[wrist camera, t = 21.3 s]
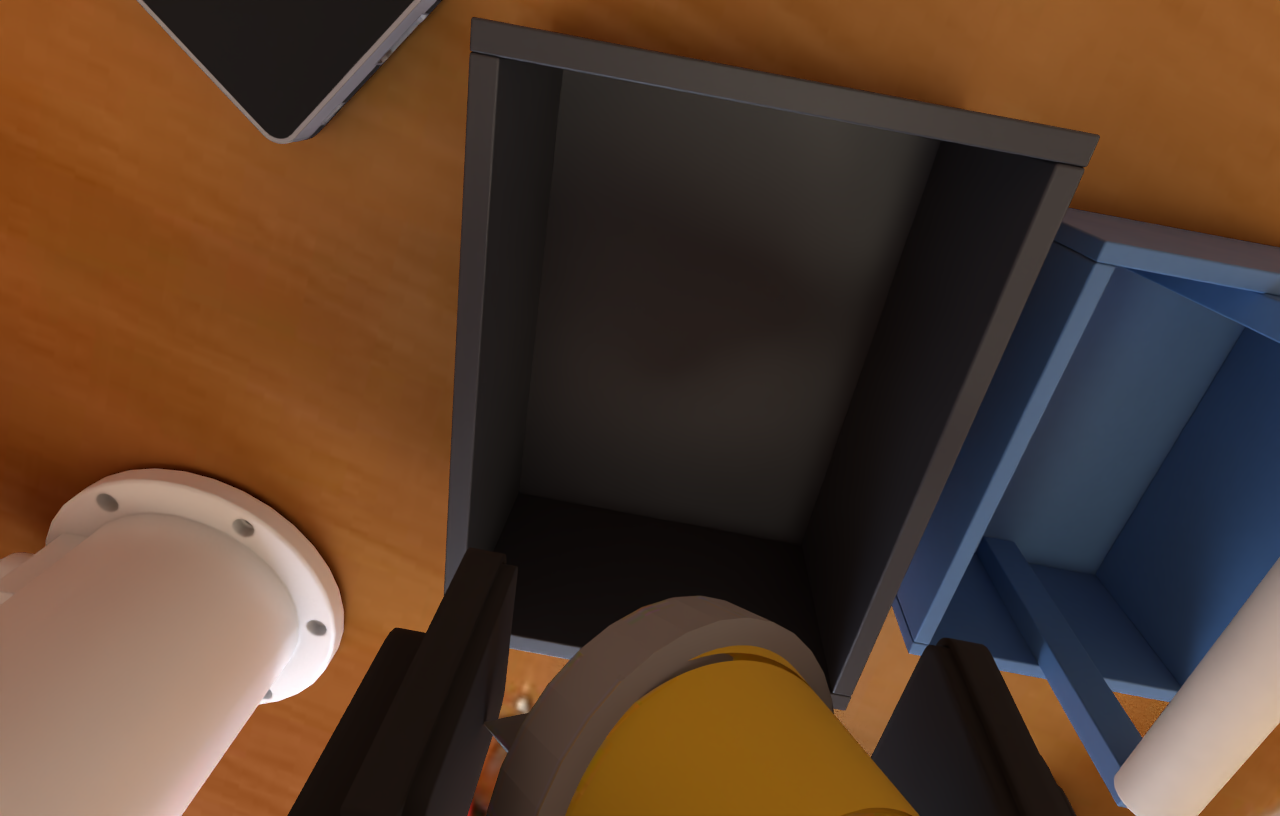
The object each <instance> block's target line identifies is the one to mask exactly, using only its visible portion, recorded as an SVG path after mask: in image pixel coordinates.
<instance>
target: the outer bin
mask: <svg viewBox="0 0 1280 816" xmlns="http://www.w3.org/2000/svg"><path fill="white" fill-rule="evenodd" d="M470 50H471V51H472V52H471V53H470V60H469V81H468V102H467V123H466V144H465V165H464V186H463V207H462V228H461V249H460V269H459V290H458V311H457V332H456V353H455V374H454V395H453V416H452V437H451V458H450V479H449V499H448V520H447V541H446V562H445V583H444V595H445V593H446V591H447V589H448V587H449V585H450V583H451V581H452V579H453V577H454V575H455V573H456V571H457V569H458V567H459V565H460V563H461V560H462V558H463V556H464V554H465V553H466V551H467V549H468V548H470V547H471V548H476V549H481V550H487V551H492V552H497V553H503V554H506V564H507V565H513V566H517V567H518V574H517V583H516V592H515V601H514V610H513V620H512V629H511V638H510V647H509V648H511V649H516V650H521V651H527V652H532V653H538V654H543V655H548V656H554V657H559V658H564V659H571V658H572V657H573V656H574V655H575V654H576V653H577V652H578V651H579V650H580V649H581V648H582V647H584V646H585V645H586V644H587V643H589V642H590V641H591V640H592V639H593V638H595V637H596V636H597V635H598V634H600V633H601V632H602V631H603V630H605V629H606V628H607V627H608V626H609V625H611V624H613V623H615V622H616V621H618V620H620V619H622V618H624V617H625V616H627V615H629V614H631V613H632V612H634V611H636V610H638V609H640V608H641V607H644V606H648V605H651V604H654V603H657V602H660V601H663V600H666V599H669V598H674V597H687V596H705V597H710V598H715V599H720V600H725V601H727V602H729V603H732V604H734V605H736V606H738V607H741V608H743V609H745V610H747V611H749V612H752V613H754V614H756V615H758V616H761V617H763V618H765V619H767V620H769V621H772V622H774V623H776V624H778V625H779V626H781V627H783V628H785V629H787V630H789V631H791V632H792V633H794V634H795V635H796V636H797V637H798V638H799V639H800V640H801V641H802V642H803V643H804V644H805V645H806V646H807V647H808V648H809V649H810V650H811V651H812V653H813V655H814V656H815V658H816V660H817V662H818V663H819V665H820V667H821V669H822V671H823V672H824V675H825V678H826V681H827V685H828V688H829V691H830V694H831V698H832V703H833V709H839V710H846V708H847V706H848V703H849V701H850V699H851V695H852V694H853V691H854V689H855V687H856V685H857V682H858V680H859V678H860V676H861V673H862V671H863V669H864V667H865V664H866V662H867V660H868V657H869V655H870V653H871V651H872V648H873V646H874V644H875V642H876V639H877V637H878V635H879V633H880V630H881V628H882V626H883V624H884V621H885V619H886V617H887V615H888V612H889V610H890V608H891V606H892V603H893V601H894V599H895V597H896V594H897V592H898V590H899V588H900V585H901V583H902V581H903V579H904V576H905V574H906V572H907V570H908V567H909V565H910V563H911V561H912V558H913V556H914V554H915V552H916V549H917V547H918V545H919V543H920V540H921V538H922V536H923V534H924V531H925V529H926V527H927V525H928V522H929V520H930V518H931V516H932V513H933V511H934V509H935V507H936V504H937V502H938V500H939V498H940V495H941V493H942V491H943V489H944V486H945V484H946V482H947V480H948V477H949V475H950V473H951V471H952V468H953V466H954V464H955V461H956V459H957V457H958V455H959V452H960V450H961V448H962V446H963V443H964V441H965V439H966V437H967V434H968V432H969V430H970V428H971V425H972V423H973V421H974V419H975V416H976V414H977V412H978V410H979V407H980V405H981V403H982V401H983V398H984V396H985V394H986V392H987V389H988V387H989V385H990V383H991V380H992V378H993V376H994V374H995V371H996V369H997V367H998V365H999V362H1000V360H1001V358H1002V356H1003V353H1004V351H1005V349H1006V347H1007V344H1008V342H1009V340H1010V338H1011V335H1012V333H1013V331H1014V329H1015V326H1016V324H1017V322H1018V320H1019V317H1020V315H1021V313H1022V311H1023V308H1024V306H1025V304H1026V302H1027V299H1028V297H1029V295H1030V293H1031V290H1032V288H1033V286H1034V284H1035V281H1036V279H1037V277H1038V275H1039V272H1040V270H1041V268H1042V266H1043V263H1044V261H1045V259H1046V256H1047V254H1048V252H1049V250H1050V247H1051V245H1052V243H1053V241H1054V238H1055V236H1056V234H1057V232H1058V229H1059V227H1060V225H1061V223H1062V220H1063V218H1064V216H1065V214H1066V211H1067V209H1068V207H1069V205H1070V202H1071V200H1072V198H1073V196H1074V193H1075V191H1076V189H1077V187H1078V184H1079V182H1080V180H1081V178H1082V175H1083V173H1084V168H1083V167H1086V166H1087V165H1088V163H1089V161H1090V159H1091V156H1092V154H1093V152H1094V150H1095V147H1096V145H1097V143H1098V141H1099V138H1100V136H1099V135H1097V134H1092V133H1087V132H1081V131H1076V130H1071V129H1065V128H1060V127H1055V126H1050V125H1044V124H1039V123H1034V122H1028V121H1023V120H1018V119H1012V118H1007V117H1002V116H997V115H991V114H986V113H981V112H975V111H970V110H965V109H959V108H954V107H949V106H944V105H938V104H933V103H928V102H922V101H917V100H912V99H906V98H901V97H896V96H891V95H885V94H880V93H875V92H869V91H864V90H859V89H853V88H848V87H843V86H838V85H832V84H827V83H822V82H816V81H811V80H806V79H800V78H795V77H790V76H785V75H779V74H774V73H769V72H763V71H758V70H753V69H747V68H742V67H737V66H732V65H726V64H721V63H716V62H710V61H705V60H700V59H694V58H689V57H684V56H678V55H673V54H668V53H663V52H657V51H652V50H647V49H641V48H636V47H631V46H625V45H620V44H615V43H610V42H604V41H599V40H594V39H588V38H583V37H578V36H572V35H567V34H562V33H557V32H551V31H546V30H541V29H535V28H530V27H525V26H519V25H514V24H509V23H504V22H498V21H493V20H488V19H482V18H477V17H472V19H471V38H470Z"/></svg>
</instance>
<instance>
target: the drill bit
mask: <svg viewBox="0 0 1280 816" xmlns="http://www.w3.org/2000/svg"><path fill="white" fill-rule="evenodd" d="M484 725H485V726H486V727H487V729H488V730H489V731H490V732H491V733H492V735H493V736H494V737H495V738H496V740H497V741H498V742H499V743H500V745H501V746H502V747H503V748H504V749H505V751H506V752H507V755H506V757H505V760H504V762H503V764H502V766H501V768H500V772H499V775H498V778H497V781H496V784H495V788H494V791H493V794H492V797H491V800H490V804H489V807H488V810H487V815H486V816H919V814H918V813H917V812H916V811H915V810H914V808H913V807H912V806H911V805H910V804H909V803H908V801H907V800H906V799H905V798H904V797H903V795H902V794H901V793H900V792H899V791H898V790H897V788H896V787H895V786H894V785H893V784H892V782H891V781H890V780H889V779H888V778H887V777H886V775H885V774H884V773H883V772H882V771H881V769H880V768H879V767H878V766H877V765H876V764H875V762H874V761H873V760H872V759H871V758H870V756H869V755H868V754H867V753H866V752H865V751H864V749H863V748H862V747H861V746H860V745H859V744H858V742H857V741H856V740H855V739H854V738H853V736H852V735H851V734H850V733H849V732H848V731H847V729H846V728H845V727H844V726H843V725H842V723H841V722H840V721H839V720H838V719H837V718H836V716H835V715H834V711H833V703H832V698H831V694H830V691H829V688H828V685H827V681H826V678H825V675H824V672H823V671H822V669H821V667H820V665H819V663H818V662H817V660H816V658H815V656H814V655H813V653H812V651H811V650H810V649H809V648H808V647H807V646H806V645H805V644H804V643H803V642H802V641H801V640H800V639H799V638H798V637H797V636H796V635H795V634H794V633H792V632H791V631H789V630H787V629H785V628H783V627H781V626H779V625H778V624H776V623H774V622H772V621H769V620H767V619H765V618H763V617H761V616H758V615H756V614H754V613H752V612H749V611H747V610H745V609H743V608H741V607H738V606H736V605H734V604H732V603H729V602H727V601H725V600H720V599H715V598H710V597H705V596H687V597H674V598H669V599H666V600H663V601H660V602H657V603H654V604H651V605H648V606H644V607H641V608H640V609H638V610H636V611H634V612H632V613H631V614H629V615H627V616H625V617H624V618H622V619H620V620H618V621H616V622H615V623H613V624H611V625H609V626H608V627H607V628H606V629H605V630H603V631H602V632H601V633H600V634H598V635H597V636H596V637H595V638H593V639H592V640H591V641H590V642H589V643H587V644H586V645H585V646H584V647H582V648H581V649H580V650H579V651H578V652H577V653H576V654H575V655H574V656H573V657H572V658H571V659H570V661H569V662H568V663H567V664H566V665H565V666H564V667H563V668H562V669H561V671H560V672H559V673H558V674H557V675H556V676H555V677H554V678H553V679H552V681H551V682H550V683H549V684H548V685H547V687H546V688H545V690H544V691H543V693H542V694H541V696H540V697H539V699H538V700H537V702H536V703H535V705H534V706H533V708H532V709H531V711H530V712H529V713H526V714H521V715H516V716H511V717H506V718H501V719H496V720H491V721H486V722H485V723H484Z"/></svg>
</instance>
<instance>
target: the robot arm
mask: <svg viewBox="0 0 1280 816" xmlns="http://www.w3.org/2000/svg"><path fill="white" fill-rule="evenodd" d="M517 574H518V567H517V566H513V565H507V564H506V554H503V553H497V552H492V551H487V550H481V549H476V548H471V547H470V548H468V549H467V551H466V553H465V554H464V556H463V558H462V560H461V563H460V565H459V567H458V569H457V571H456V573H455V575H454V577H453V579H452V581H451V583H450V585H449V587H448V589H447V591H446V593H445V595H444V597H443V599H442V601H441V603H440V605H439V608H438V610H437V612H436V614H435V616H434V618H433V620H432V622H431V624H430V626H429V628H428V630H427V632H426V633H423V632H418V631H413V630H407V629H402V628H394V629H393V630H392V631H391V632H390V633H389V635H388V636H387V638H386V639H385V641H384V643H383V644H382V646H381V648H380V650H379V652H378V653H377V655H376V657H375V659H374V661H373V662H372V664H371V666H370V668H369V670H368V671H367V673H366V675H365V677H364V679H363V680H362V682H361V684H360V686H359V688H358V689H357V691H356V693H355V695H354V697H353V698H352V700H351V702H350V704H349V706H348V707H347V709H346V711H345V713H344V715H343V717H342V718H341V720H340V722H339V724H338V726H337V727H336V729H335V731H334V733H333V735H332V736H331V738H330V740H329V742H328V744H327V745H326V747H325V749H324V751H323V753H322V754H321V756H320V758H319V760H318V762H317V763H316V765H315V767H314V769H313V771H312V772H311V774H310V776H309V778H308V780H307V781H306V783H305V785H304V787H303V789H302V791H301V792H300V794H299V796H298V798H297V800H296V801H295V803H294V805H293V807H292V809H291V810H290V812H289V814H288V816H467V815H468V811H469V808H470V805H471V802H472V799H473V796H474V792H475V789H476V786H477V783H478V780H479V777H480V773H481V770H482V767H483V764H484V761H485V758H486V754H487V751H488V748H489V745H490V742H491V739H492V733H491V732H490V731H489V730H488V729H487V727H486V726H485V725H484V723H485V722H486V721H491V720H496V719H498V716H499V713H500V709H501V706H502V701H503V697H504V691H505V683H506V674H507V665H508V656H509V647H510V638H511V629H512V620H513V610H514V601H515V592H516V583H517ZM343 631H344V609H343V604H342V600H341V595H340V591H339V588H338V586H337V584H336V582H335V579H334V577H333V575H332V573H331V571H330V568H329V567H328V566H327V564H326V563H325V561H324V560H323V558H322V557H321V555H320V554H319V553H318V551H317V550H316V548H315V547H314V546H313V545H312V544H311V542H310V541H309V540H308V539H307V538H306V537H305V536H304V535H303V534H302V533H301V532H300V531H299V530H298V529H297V528H296V527H295V526H294V525H293V524H292V523H290V522H289V521H288V520H287V519H285V518H284V517H283V516H281V515H280V514H279V513H278V512H276V511H275V510H274V509H273V508H271V507H270V506H268V505H266V504H265V503H263V502H261V501H260V500H258V499H256V498H254V497H253V496H251V495H249V494H248V493H246V492H244V491H242V490H239V489H237V488H235V487H232V486H230V485H227V484H225V483H223V482H220V481H218V480H215V479H212V478H208V477H204V476H201V475H197V474H193V473H189V472H186V471H177V470H167V469H158V468H153V469H138V470H128V471H124V472H121V473H117V474H113V475H110V476H106V477H104V478H103V479H101V480H99V481H97V482H95V483H94V484H92V485H90V486H88V487H87V488H85V489H84V490H83V491H81V492H80V493H79V494H77V495H76V496H75V497H73V498H72V499H71V500H69V501H68V502H67V503H65V504H64V505H63V506H62V508H61V509H60V510H59V512H58V513H57V515H56V516H55V517H54V519H53V520H52V522H51V525H50V528H49V531H48V535H47V538H46V546H45V547H44V548H43V549H41V550H40V551H38V552H37V553H36V554H31V553H25V552H23V553H13V554H11V555H9V556H7V557H5V558H3V559H0V816H182V814H183V813H184V811H185V810H186V808H187V807H188V805H189V804H190V803H191V801H192V800H193V798H194V797H195V795H196V794H197V792H198V791H199V790H200V788H201V787H202V785H203V784H204V782H205V781H206V779H207V778H208V777H209V775H210V774H211V772H212V771H213V769H214V768H215V766H216V765H217V764H218V762H219V761H220V759H221V758H222V756H223V755H224V754H225V752H226V751H227V749H228V748H229V746H230V745H231V743H232V742H233V741H234V739H235V738H236V736H237V735H238V733H239V732H240V730H241V729H242V728H243V726H244V725H245V723H246V722H247V720H248V719H249V717H250V716H251V715H252V713H253V712H254V710H255V709H256V707H257V706H258V705H259V704H265V703H270V702H276V701H280V700H283V699H285V698H288V697H290V696H293V695H296V694H298V693H300V692H301V691H303V690H304V689H306V688H307V687H309V686H310V685H312V684H313V683H314V682H315V681H316V680H317V679H318V677H319V676H320V675H321V674H322V673H323V672H324V671H325V669H326V668H327V666H328V664H329V663H330V661H331V659H332V658H333V656H334V654H335V653H336V651H337V649H338V647H339V644H340V641H341V638H342V634H343ZM871 759H872V760H873V761H874V762H875V764H876V765H877V766H878V767H879V768H880V769H881V771H882V772H883V773H884V774H885V775H886V777H887V778H888V779H889V780H890V781H891V782H892V784H893V785H894V786H895V787H896V788H897V790H898V791H899V792H900V793H901V794H902V795H903V797H904V798H905V799H906V800H907V801H908V803H909V804H910V805H911V806H912V807H913V808H914V810H915V811H916V812H917V813H918V814H919V816H1072V815H1071V813H1070V811H1069V808H1068V806H1067V804H1066V802H1065V800H1064V798H1063V796H1062V794H1061V792H1060V790H1059V788H1058V786H1057V784H1056V782H1055V780H1054V778H1053V776H1052V774H1051V771H1050V769H1049V767H1048V766H1047V764H1046V763H1045V761H1044V759H1043V758H1042V756H1041V755H1040V754H1039V752H1038V750H1037V748H1036V746H1035V743H1034V741H1033V739H1032V737H1031V735H1030V733H1029V731H1028V729H1027V727H1026V725H1025V723H1024V721H1023V719H1022V716H1021V714H1020V712H1019V710H1018V708H1017V706H1016V704H1015V702H1014V700H1013V698H1012V696H1011V694H1010V692H1009V690H1008V687H1007V685H1006V683H1005V681H1004V679H1003V677H1002V675H1001V673H1000V671H999V669H998V667H997V665H996V663H995V661H994V658H993V656H992V654H991V653H990V651H989V650H988V648H987V647H986V646H984V645H983V644H978V643H973V642H968V641H963V640H957V639H952V638H942V639H940V640H939V641H938V643H937V644H936V646H935V645H928V646H927V647H926V648H925V650H924V651H923V653H922V655H921V657H920V659H919V661H918V663H917V665H916V667H915V669H914V671H913V673H912V675H911V677H910V679H909V681H908V684H907V686H906V688H905V690H904V692H903V694H902V696H901V698H900V700H899V702H898V704H897V706H896V708H895V710H894V712H893V714H892V716H891V718H890V720H889V722H888V724H887V726H886V728H885V730H884V732H883V734H882V736H881V738H880V740H879V742H878V744H877V746H876V748H875V750H874V752H873V754H872V756H871Z"/></svg>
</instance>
